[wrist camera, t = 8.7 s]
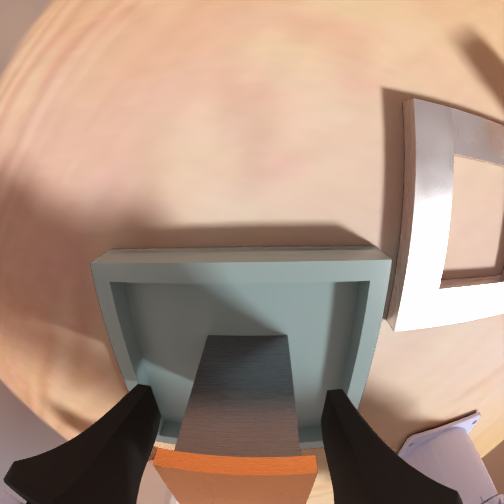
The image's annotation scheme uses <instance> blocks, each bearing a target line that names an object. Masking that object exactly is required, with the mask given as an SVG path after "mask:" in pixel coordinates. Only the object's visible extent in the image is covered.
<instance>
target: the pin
mask: <svg viewBox="0 0 504 504" xmlns="http://www.w3.org/2000/svg"><path fill="white" fill-rule="evenodd" d="M153 466H154V467H155V469H156V470H157V472H158V474H159V475H160V477H161V478H162V480H163V481H164V483H165V484H166V486H167V487H168V489H169V490H170V492H171V493H172V494H173V496H174V497H175V499H176V500H177V501H178V503H179V504H306V502H307V499H308V497H309V494H310V492H311V489H312V487H313V484H314V482H315V479H316V476H317V473H318V471H317V463H316V455H308V456H300V446H299V435H298V425H297V415H296V405H295V396H294V386H293V377H292V368H291V360H290V351H289V343H288V335H268V336H236V335H208V336H207V340H206V343H205V346H204V350H203V353H202V356H201V360H200V363H199V366H198V370H197V373H196V376H195V380H194V383H193V387H192V390H191V394H190V397H189V400H188V404H187V407H186V411H185V414H184V418H183V421H182V425H181V428H180V432H179V435H178V439H177V443H176V446H175V450H174V451H173V450H167V449H161V448H158V449H157V452H156V455H155V459H154V462H153Z"/></svg>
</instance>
